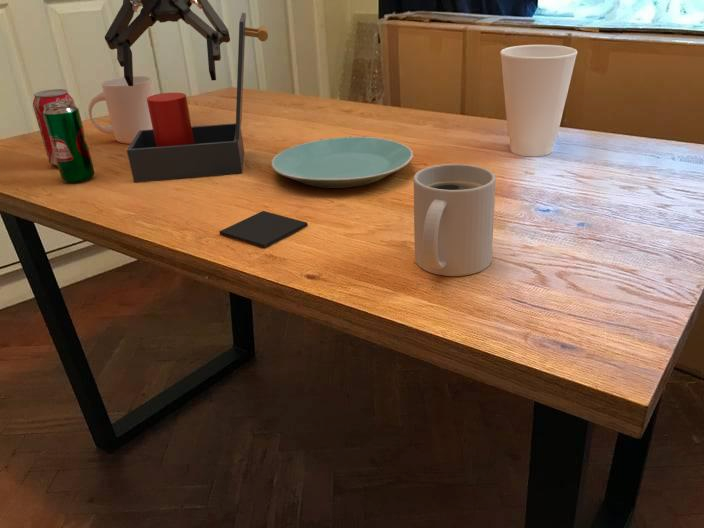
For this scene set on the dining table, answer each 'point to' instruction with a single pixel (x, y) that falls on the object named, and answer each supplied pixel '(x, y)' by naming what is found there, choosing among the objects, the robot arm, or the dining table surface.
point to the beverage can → (38, 106)
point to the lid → (243, 31)
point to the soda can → (68, 141)
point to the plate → (342, 161)
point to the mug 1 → (125, 107)
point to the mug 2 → (454, 218)
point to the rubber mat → (263, 229)
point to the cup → (535, 95)
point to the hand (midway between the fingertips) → (171, 78)
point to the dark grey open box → (187, 155)
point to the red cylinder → (170, 119)
